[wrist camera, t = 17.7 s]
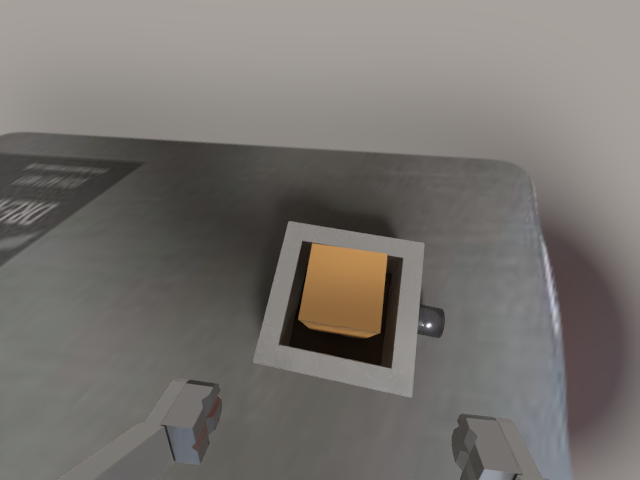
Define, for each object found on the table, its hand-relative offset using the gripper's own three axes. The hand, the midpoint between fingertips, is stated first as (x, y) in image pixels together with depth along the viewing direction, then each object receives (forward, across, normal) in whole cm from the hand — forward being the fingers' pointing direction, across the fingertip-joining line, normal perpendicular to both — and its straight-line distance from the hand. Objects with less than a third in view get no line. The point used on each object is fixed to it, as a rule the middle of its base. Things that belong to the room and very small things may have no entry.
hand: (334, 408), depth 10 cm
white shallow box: (+12, 0, +5) cm, 13 cm away
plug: (+12, 0, +5) cm, 13 cm away
